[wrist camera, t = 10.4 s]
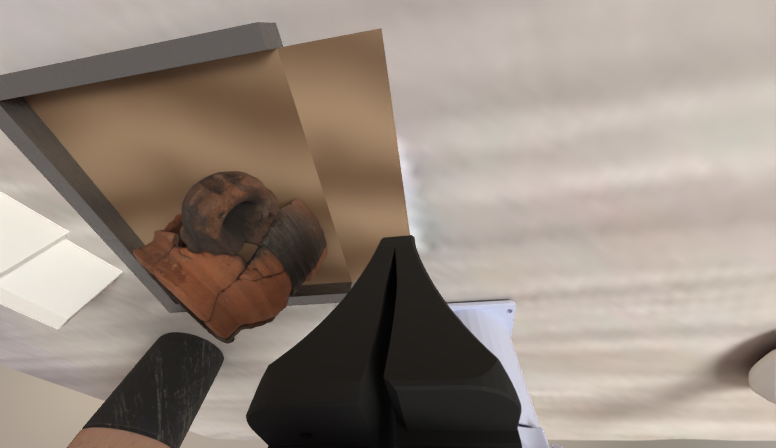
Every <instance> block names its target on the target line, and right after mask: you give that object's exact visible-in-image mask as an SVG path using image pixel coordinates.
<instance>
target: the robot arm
mask: <svg viewBox="0 0 776 448" xmlns="http://www.w3.org/2000/svg"><path fill="white" fill-rule="evenodd" d="M515 309H516V305H515V302H514V301H512V300H503V301H485V302H467V303H449V304H447V303H446V302H445V300H444V299H443V297H442V296H441V295H440V293H439V292H438V290H437V289H436V287H435V285H434V284H433V282H432V280H431V279H430V277H429V275H428V273H427V272H426V270H425V268H424V266H423V263H422V261H421V259H420V257H419V254H418V252H417V249H416V245H415V239H414V237H413V236H412V235H407V236H396V237H384V238H382V239H381V241H380V243H379V245H378V247H377V249H376V251H375V253H374V254H373V256H372V258H371V260H370V261H369V263H368V265H367V266H366V268H365V269H364V271H363V273H362V274H361V276H360V277H359V278H358V280H357V281H356V283H355V284H354V286H353V287H352V288H351V290H350V291H349V292H348V293H347V295H346V296H345V297H344V298H343V300H342V301H341V302H340V303H339V304H338V305H337V307H336V308H335V309H334V310H333V311H332V312H331V313H330V314H329V315H328V316H327V317H326V318H325V319H324V320H323V321H322V322H321V323H320V324H319V325H318V326H317V327H316V328H315V329H314V330H313V331H311V332H310V333H309V334H308V335H307V336H306V337H305V338H304V339H303V340H301V341H300V342H299V343H298V344H296V345H295V346H294V347H293V348H291V349H290V350H289V351H287V352H286V353H285V354H283V355H282V356H281V357H280V358H278V359H277V360H276V361H274V362H273V363H271V364H270V365H269V366H268V368H267V370H266V372H265V373H264V375H263V377H262V379H261V381H260V383H259V386H258V388H257V390H256V393H255V395H254V398H253V400H252V402H251V405H250V407H249V410H248V412H247V414H246V418H247V422H248V424H249V426H250V427H251V428H252V430H253V431H254V432H255V433H256V434H257V435H258V436H260V437H261V438H262V439H263V440H264V441H265V442H266V443H267V444H268V445H269V446H268V448H550V447H549V444H548V441H547V438H546V435H545V432H544V429H543V428H541V427H540V424H539V421H538V418H537V415H536V412H535V409H534V406H533V403H532V400H531V397H530V394H529V391H528V388H527V385H526V382H525V379H524V376H523V373H522V370H521V367H520V364H519V361H518V358H517V355H516V352H515V349H514V346H513V343H512V340H511V335H512V329H513V322H514V316H515ZM551 446H552V448H563V446H562V445H560V444H553V445H551Z"/></svg>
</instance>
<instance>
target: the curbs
mask: <svg viewBox="0 0 776 448" xmlns="http://www.w3.org/2000/svg"><path fill="white" fill-rule="evenodd" d="M280 47H283V45H282V42H281V39H280V36H279V32H278V29H277V26H276V23H261V22H257V23H252V24H247V25H242V26H237V27H233V28H228V29H223V30H218V31H213V32H208V33H203V34H198V35H194V36H189V37H184V38H179V39H174V40H169V41H164V42H160V43H155V44H150V45H145V46H140V47H135V48H130V49H126V50H121V51H116V52H111V53H106V54H101V55H96V56H91V57H87V58H82V59H77V60H72V61H67V62H62V63H57V64H53V65H48V66H43V67H38V68H33V69H28V70H23V71H19V72H14V73H9V74H4V75H0V129H1V130H2V131H3V132H4V133H5V134H6V135H7V137H8V138H9V139H10V140H11V141H12V142H13V143H14V144H15V145H16V146H17V147H18V148H19V150H20V151H21V152H22V153H23V154H24V155H25V156H26V157H27V158H28V159H29V160H30V161H31V163H32V164H33V165H34V166H35V167H36V168H37V169H38V170H39V171H40V172H41V173H42V174H43V176H44V177H45V178H46V179H47V180H48V181H49V182H50V183H51V184H52V185H53V186H54V187H55V189H56V190H57V191H58V192H59V193H60V194H61V195H62V196H63V197H64V198H65V199H66V201H67V202H68V203H69V204H70V205H71V206H72V207H73V208H74V209H75V210H76V211H77V212H78V214H79V215H80V216H81V217H82V218H83V219H84V220H85V221H86V222H87V223H88V224H89V225H90V227H91V228H92V229H93V230H94V231H95V232H96V233H97V234H98V235H99V236H100V237H101V238H102V240H103V241H104V242H105V243H106V244H107V245H108V246H109V247H110V248H111V249H112V250H113V251H114V253H115V254H116V255H117V256H118V257H119V258H120V259H121V260H122V261H123V262H124V263H125V264H126V266H127V267H128V268H129V269H130V270H131V271H132V272H133V273H134V274H135V275H136V276H137V277H138V279H139V280H140V281H141V282H142V283H143V284H144V285H145V286H146V287H147V288H148V289H149V291H150V292H151V293H152V294H153V295H154V296H155V297H156V298H157V299H158V300H159V301H160V302H161V304H162V305H163V306H164V307H165V308H166V309H167V310H168V311H169V312H170V313H173V312H187V311H186V310H185V309H183V308H182V307H181V306H180V304H178V303H177V302H176V301H175V300H174V299H173V298H172V297H171V296H170V295H168V294H167V293H166V292H165V290H164V289H163V288H162V287H161V286H159V285H158V284H157V283H156V282H155V281H154V280H153V279H152V278H151V277H150V275H148V273H147V269H146V268H144V267H143V266H142V265H141V264H139V263H138V261H137V258H136V257H135V256H134V255H133V250H134V249H137V248H140V247H143V246H145V244H144V243H143V242H142V241H141V239H140V238H139V237H138V236H137V234H136V233H135V232H134V231H133V230H132V228H131V227H130V226H129V225H128V224H127V222H126V221H125V220H124V219H123V218H122V216H121V215H120V214H119V213H118V211H117V210H116V209H115V208H114V207H113V205H112V204H111V203H110V202H109V201H108V199H107V198H106V197H105V196H104V194H103V193H102V192H101V191H100V190H99V188H98V187H97V186H96V185H95V184H94V182H93V181H92V180H91V179H90V178H89V176H88V175H87V174H86V173H85V171H84V170H83V169H82V168H81V167H80V165H79V164H78V163H77V162H76V161H75V159H74V158H73V157H72V156H71V155H70V153H69V152H68V151H67V150H66V148H65V147H64V146H63V145H62V144H61V142H60V141H59V140H58V139H57V138H56V136H55V135H54V134H53V133H52V131H51V130H50V129H49V128H48V127H47V125H46V124H45V123H44V122H43V121H42V119H41V118H40V117H39V116H38V115H37V113H36V112H35V111H34V110H33V108H32V107H31V106H30V105H29V104H28V102H27V101H26V100H25V99H24V98H23V96H28V95H34V94H39V93H44V92H49V91H55V90H60V89H65V88H70V87H76V86H81V85H86V84H91V83H97V82H102V81H107V80H112V79H118V78H123V77H128V76H133V75H139V74H144V73H149V72H154V71H160V70H165V69H170V68H175V67H181V66H186V65H191V64H196V63H202V62H207V61H212V60H217V59H223V58H228V57H233V56H238V55H244V54H249V53H254V52H259V51H265V50H270V49H275V48H280ZM355 283H356V281H353V282H339V283H325V284H310V285H301V287H300V289H299V290H298V291H297V292H296V293H295V294H294V295H293V296H290V297H289V299H288V303H287V306H292V305H308V304H325V303H340V302H341V301H342V300H343V298H344V297H345V296H346V295H347V293H348V292H349V291H350V290H351V288H352V287H353V286H354V284H355Z"/></svg>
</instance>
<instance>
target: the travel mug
mask: <svg viewBox="0 0 776 448" xmlns="http://www.w3.org/2000/svg"><path fill="white" fill-rule="evenodd" d="M223 359H224V357H223V354H222V353H221V351H220V350H219V349H218V348H217V347H216V346H215V345H213V344H212V343H210V342H208V341H206V340H204V339H202V338H200V337H197V336H194V335H190V334H185V333H168V334H165V335H163V336H161V337H160V338H159V339H158V340H157V341H156V342H155V343H154V344H153V346H152V347H151V348H150V349H149V350H148V351H147V353H146V354H145V355H144V356H143V357H142V358H141V360H140V361H139V362H138V363H137V364H136V365H135V367H134V368H133V369H132V370H131V371H130V373H129V374H128V375H127V376H126V377H125V378H124V380H123V381H122V382H121V383H120V384H119V386H118V387H117V388H116V389H115V390H114V391H113V393H112V394H111V395H110V396H109V397H108V399H107V400H106V401H105V402H104V403H103V404H102V406H101V407H100V408H99V409H98V410H97V412H96V413H95V414H94V415H93V416H92V417H91V419H90V420H89V421H88V422H87V424H86V425H85V426H84V427H83V429H82V430H81V431H80V432H79V433H78V434H77V435H76V437H75V438H74V439H73V440H72V442H71V443H70V444H69V445H68V447H67V448H180V446H181V444H182V442H183V440H184V438H185V436H186V434H187V432H188V430H189V428H190V426H191V424H192V422H193V420H194V418H195V416H196V415H197V413H198V411H199V409H200V407H201V405H202V403H203V401H204V399H205V397H206V395H207V393H208V391H209V389H210V387H211V385H212V383H213V381H214V379H215V377H216V375H217V373H218V371H219V369H220V367H221V365H222V363H223Z"/></svg>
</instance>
